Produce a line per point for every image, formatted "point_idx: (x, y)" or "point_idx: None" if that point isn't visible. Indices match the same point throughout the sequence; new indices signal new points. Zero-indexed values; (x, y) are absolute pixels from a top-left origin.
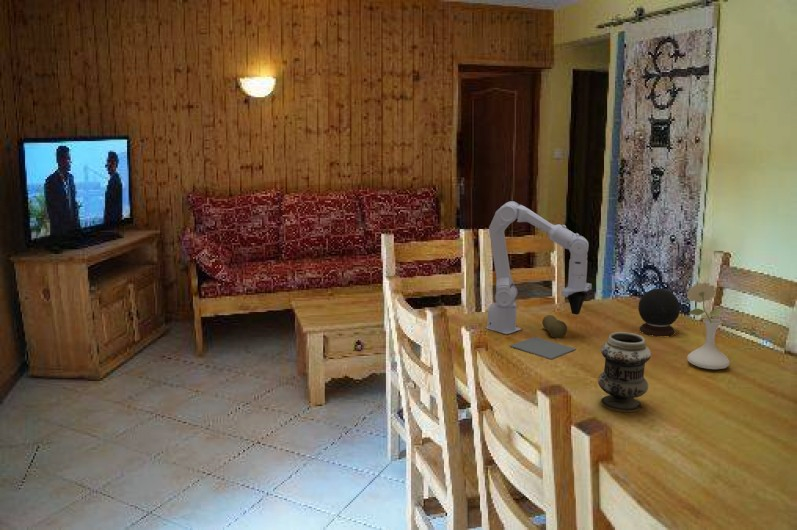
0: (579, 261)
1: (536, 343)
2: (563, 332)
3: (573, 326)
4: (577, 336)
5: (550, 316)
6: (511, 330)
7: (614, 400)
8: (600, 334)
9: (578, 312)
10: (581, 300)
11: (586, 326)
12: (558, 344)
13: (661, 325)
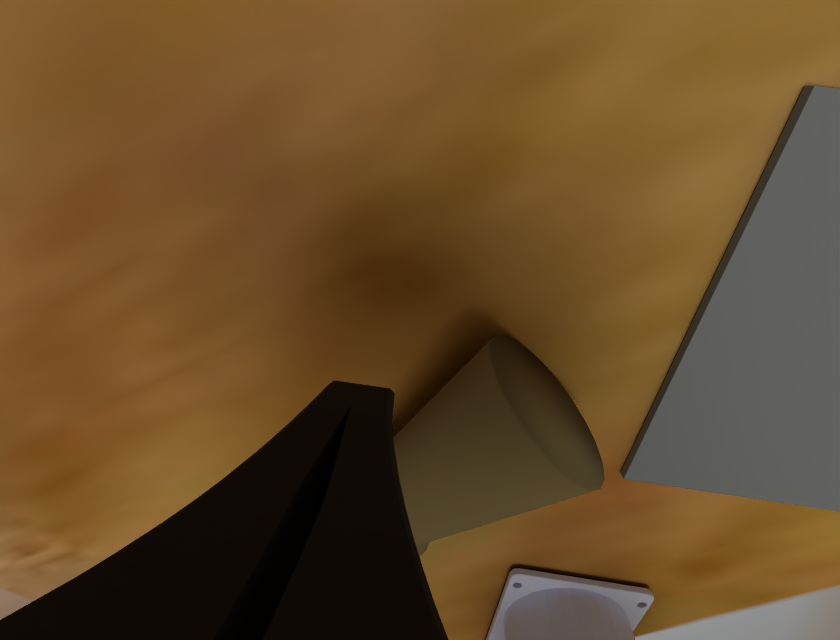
0: None
1: (787, 418)
2: (513, 357)
3: (196, 384)
4: (384, 264)
5: None
6: (600, 597)
7: None
8: (176, 125)
9: (360, 399)
10: (235, 615)
11: (112, 317)
12: (737, 284)
13: None
